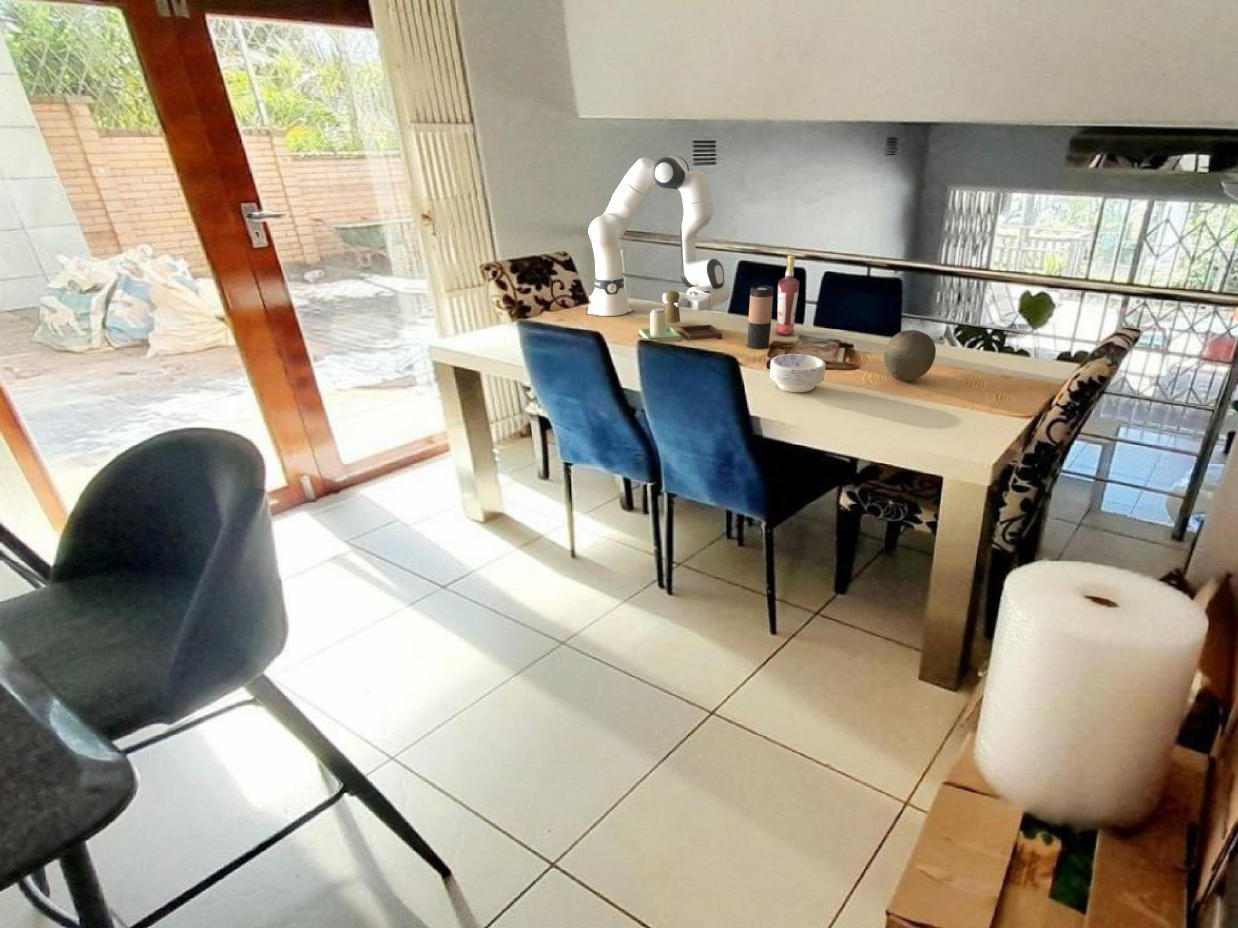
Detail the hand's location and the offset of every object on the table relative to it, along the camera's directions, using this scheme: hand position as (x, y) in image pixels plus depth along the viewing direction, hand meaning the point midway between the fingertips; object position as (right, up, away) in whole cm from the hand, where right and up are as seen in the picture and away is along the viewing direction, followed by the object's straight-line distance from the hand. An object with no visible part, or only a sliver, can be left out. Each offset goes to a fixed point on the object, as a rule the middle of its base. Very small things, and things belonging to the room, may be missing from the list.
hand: (670, 304), depth 262 cm
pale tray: (-5, -14, -7) cm, 16 cm away
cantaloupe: (+65, -36, -56) cm, 93 cm away
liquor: (+41, -13, -6) cm, 43 cm away
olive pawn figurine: (+1, -6, +3) cm, 7 cm away
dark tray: (+10, -13, -5) cm, 17 cm away
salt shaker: (-5, -14, -8) cm, 17 cm away
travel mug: (+29, -19, -19) cm, 40 cm away
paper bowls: (+32, -38, -59) cm, 77 cm away
